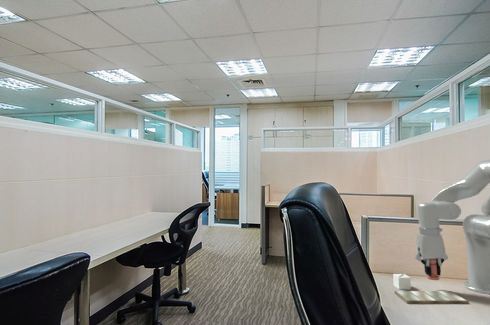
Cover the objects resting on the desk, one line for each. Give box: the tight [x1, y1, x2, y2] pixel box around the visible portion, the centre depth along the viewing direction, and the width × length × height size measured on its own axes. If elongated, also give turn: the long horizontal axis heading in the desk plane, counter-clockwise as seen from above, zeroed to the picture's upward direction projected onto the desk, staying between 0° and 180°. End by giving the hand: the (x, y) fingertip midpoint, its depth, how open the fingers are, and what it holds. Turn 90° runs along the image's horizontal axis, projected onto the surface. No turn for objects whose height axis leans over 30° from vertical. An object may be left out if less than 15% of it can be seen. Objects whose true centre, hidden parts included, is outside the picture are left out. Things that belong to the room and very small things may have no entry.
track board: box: [394, 290, 469, 305], centre depth 117 cm, size 23×10×1 cm, turn 88°
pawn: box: [426, 259, 440, 281], centre depth 126 cm, size 4×4×9 cm
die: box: [392, 273, 412, 290], centre depth 129 cm, size 5×5×5 cm
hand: (432, 274), depth 126 cm, fingers closed on pawn, 3 cm apart
